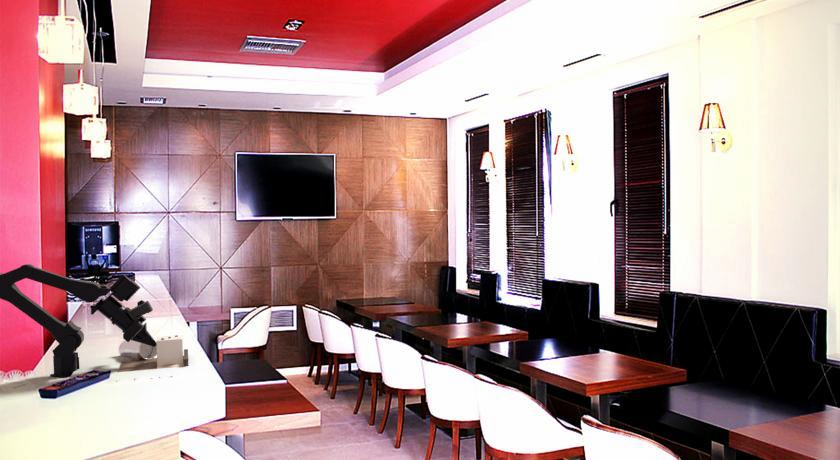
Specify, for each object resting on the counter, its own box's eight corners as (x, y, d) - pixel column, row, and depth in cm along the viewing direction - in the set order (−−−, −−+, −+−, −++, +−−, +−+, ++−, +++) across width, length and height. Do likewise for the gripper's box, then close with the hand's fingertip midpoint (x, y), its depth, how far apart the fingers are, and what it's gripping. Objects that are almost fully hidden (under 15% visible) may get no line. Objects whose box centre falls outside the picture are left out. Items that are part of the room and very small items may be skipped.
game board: (117, 376, 209) (116, 365, 209) (122, 364, 227) (121, 354, 226) (188, 369, 216) (188, 359, 216) (188, 358, 233) (187, 349, 233)
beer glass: (141, 351, 241) (163, 351, 231) (124, 363, 236) (145, 364, 226) (130, 334, 239) (152, 333, 229) (113, 346, 234) (134, 347, 224)
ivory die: (157, 365, 218) (156, 339, 218) (158, 360, 225) (157, 335, 225) (183, 363, 220) (182, 337, 220) (183, 358, 227) (182, 334, 227)
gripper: (133, 296, 210) (174, 330, 214) (137, 290, 228) (175, 321, 232) (105, 324, 208) (147, 358, 212) (111, 316, 226) (150, 348, 229)
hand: (156, 345), depth 221 cm, fingers closed, pressing on ivory die
